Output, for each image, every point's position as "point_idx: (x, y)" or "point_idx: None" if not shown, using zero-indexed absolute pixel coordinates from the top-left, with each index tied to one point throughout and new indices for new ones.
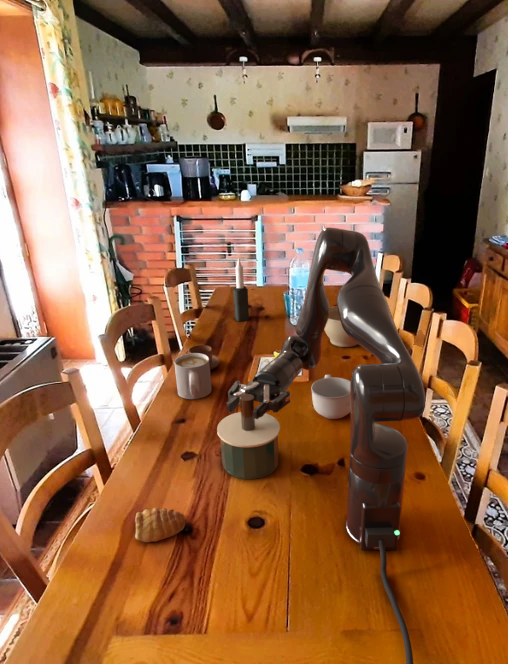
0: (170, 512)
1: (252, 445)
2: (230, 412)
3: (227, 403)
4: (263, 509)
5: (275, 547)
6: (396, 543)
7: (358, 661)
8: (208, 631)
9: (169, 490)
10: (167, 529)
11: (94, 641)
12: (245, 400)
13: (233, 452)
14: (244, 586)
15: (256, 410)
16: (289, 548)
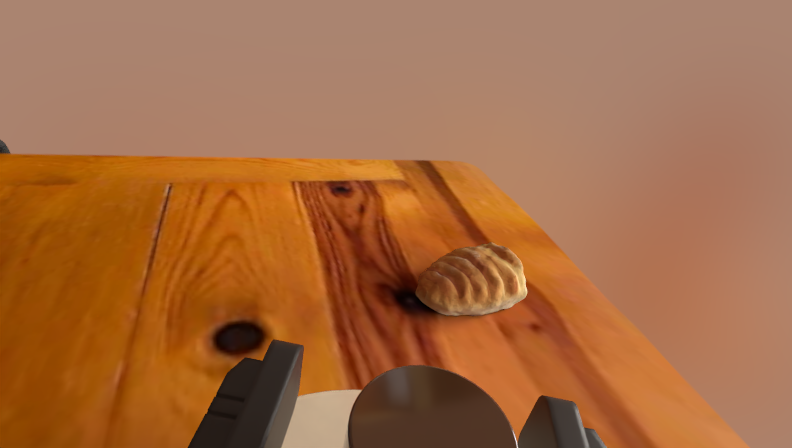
0: (459, 281)
1: None
2: (518, 442)
3: (590, 435)
4: (219, 383)
5: (182, 283)
6: None
7: (64, 162)
8: (289, 182)
9: None
10: (438, 261)
11: (420, 176)
12: (417, 367)
13: None
14: (247, 222)
15: (279, 341)
16: (144, 284)
